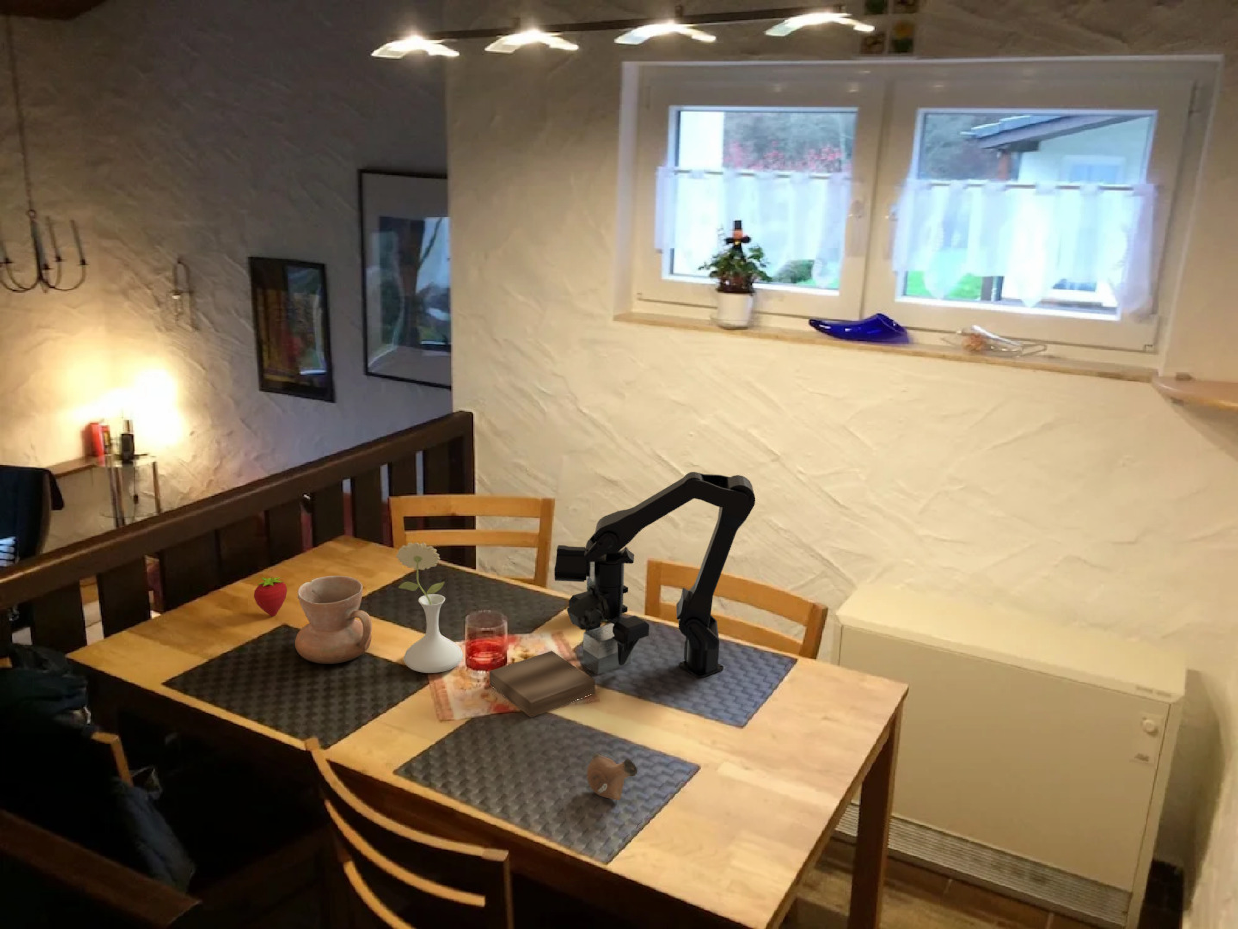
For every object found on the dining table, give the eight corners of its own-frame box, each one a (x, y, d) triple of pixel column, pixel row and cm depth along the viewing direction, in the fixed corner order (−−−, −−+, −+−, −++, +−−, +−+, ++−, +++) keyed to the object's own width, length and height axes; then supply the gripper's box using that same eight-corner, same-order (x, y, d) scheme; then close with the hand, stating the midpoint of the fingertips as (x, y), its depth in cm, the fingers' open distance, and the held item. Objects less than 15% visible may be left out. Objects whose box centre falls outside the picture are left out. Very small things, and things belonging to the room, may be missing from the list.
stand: (594, 694, 190) (594, 679, 189) (531, 717, 182) (531, 702, 181) (551, 664, 201) (551, 650, 200) (489, 685, 192) (489, 671, 191)
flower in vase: (473, 656, 203) (471, 538, 196) (445, 683, 193) (442, 559, 185) (415, 645, 207) (410, 529, 200) (384, 671, 197) (379, 549, 189)
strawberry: (249, 620, 216) (245, 576, 213) (273, 606, 222) (270, 563, 219) (271, 625, 214) (267, 581, 211) (295, 611, 220) (292, 568, 217)
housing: (615, 654, 206) (616, 622, 204) (630, 663, 202) (631, 631, 200) (582, 665, 201) (583, 632, 199) (598, 675, 197) (598, 642, 195)
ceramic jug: (275, 656, 201) (270, 590, 196) (330, 628, 213) (326, 565, 208) (342, 683, 192) (338, 615, 188) (396, 652, 204) (393, 587, 200)
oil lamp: (642, 802, 159) (643, 757, 157) (628, 815, 156) (629, 769, 154) (594, 782, 164) (594, 738, 161) (579, 795, 160) (580, 750, 158)
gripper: (546, 575, 198) (546, 648, 203) (604, 609, 185) (603, 687, 189) (592, 562, 205) (591, 633, 210) (652, 594, 191) (649, 670, 196)
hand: (607, 655), depth 201 cm, fingers open, 9 cm apart
